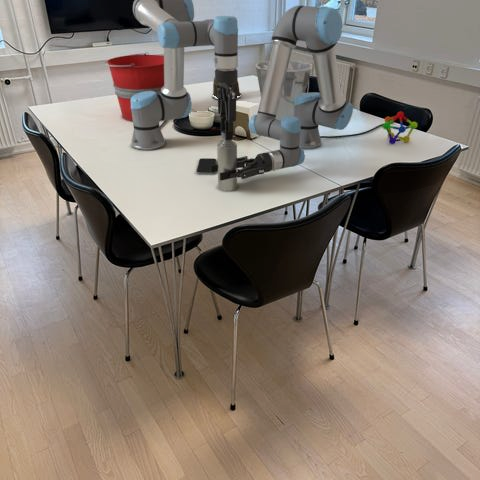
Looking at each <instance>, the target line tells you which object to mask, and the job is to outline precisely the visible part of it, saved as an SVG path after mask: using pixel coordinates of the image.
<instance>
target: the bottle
mask: <svg viewBox="0 0 480 480" xmlns="http://www.w3.org/2000/svg"><path fill="white" fill-rule="evenodd" d="M216 149H217V164H218V172H217V188H218V190H220V191H222V192H232V191H233V192H234V191H235V190H237V189H238V177H235V178H231V179H226V180H222V181H220V173H222V172H227V171H232V170H237V169H238V168H237V158H238V144H237V143H236V141H234V139H233V140H227V141H226V140H225V139H223V138H221V140H220V141H219V142H217V145H216Z"/></svg>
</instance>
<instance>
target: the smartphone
mask: <svg viewBox="0 0 480 480" xmlns="http://www.w3.org/2000/svg"><path fill="white" fill-rule="evenodd" d="M216 164H217V158H210V157H209V158H207V157H206V158H205V157H203V158H202V157H201V158H199V159H198V163H197V168H196V174H199V175H212V174H214V173H211V172H210V166H211V165H216Z"/></svg>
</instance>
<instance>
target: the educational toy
mask: <svg viewBox="0 0 480 480" xmlns="http://www.w3.org/2000/svg"><path fill="white" fill-rule="evenodd" d="M397 119H399V124H400V125H399V127H398V126H393V125H391V124H393V123H392V122H394V123H395V121H396V120H397ZM403 120H404V121H405V122H407V123H408V124H409V125H407V126H404V123H403ZM383 123H384V124H383ZM383 123H382V124H383V126H382V129H383V130H386V132H387V138H388V142H389V145H395V144H396V143H397V142H402V141H403V142H404V143H409V142H410V140H411V138H410V136H411V134H412V132H413V131H414V130H415V129H417V127H418V122H417V121H411V120H410V119H409V118H408V117H406V116H405V113H404V112H403V111H401V110H400V111H398V112H397V114H396V115H394V116H391V117H390V116H386V117H385V118H384V122H383ZM392 129H393V130H397V131H398V132H396V134H395V133H394V132H392ZM408 129H409V131H408V133H407V134H406V135H404V136H401V134H403V133H405V132H406V130H408ZM399 135H400V136H399Z"/></svg>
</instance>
